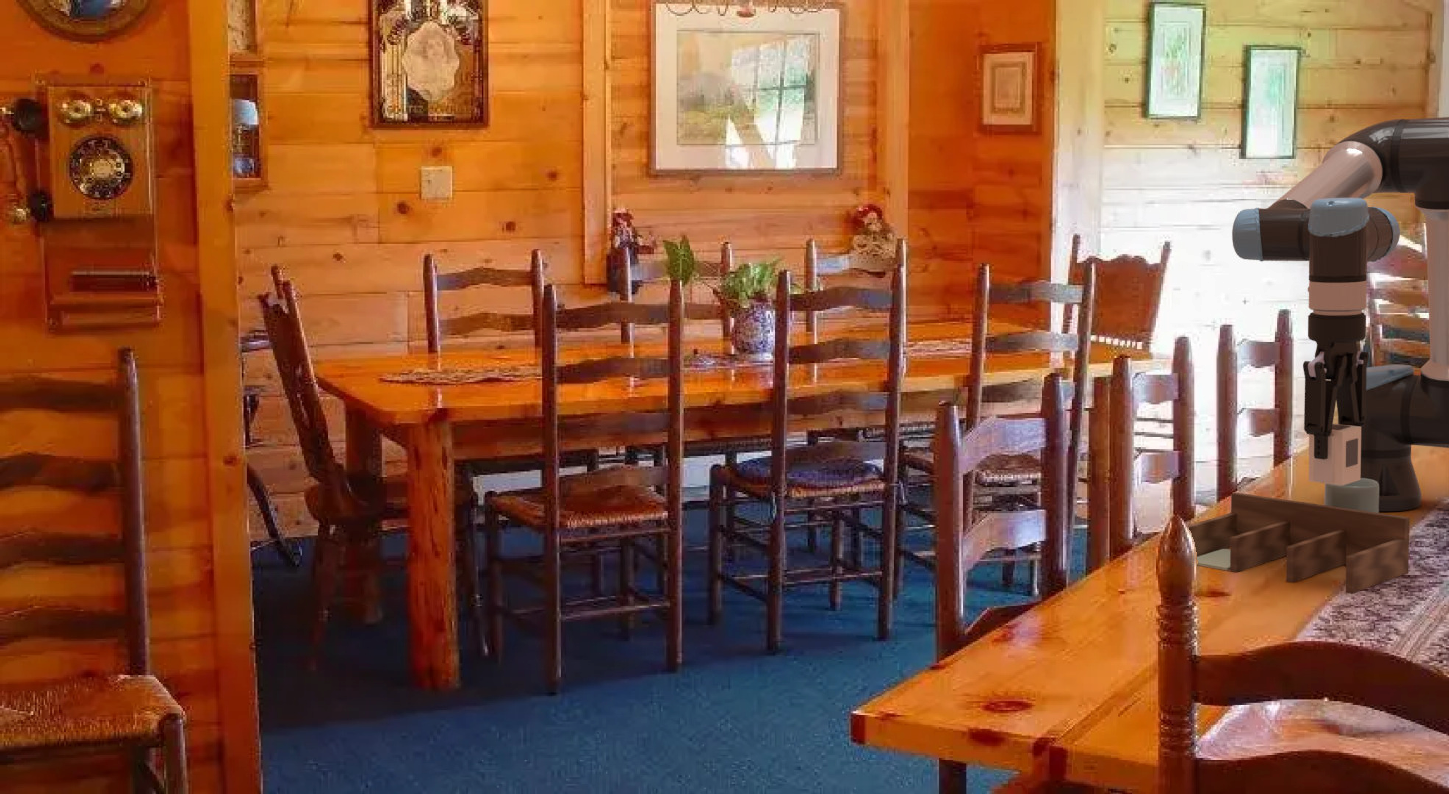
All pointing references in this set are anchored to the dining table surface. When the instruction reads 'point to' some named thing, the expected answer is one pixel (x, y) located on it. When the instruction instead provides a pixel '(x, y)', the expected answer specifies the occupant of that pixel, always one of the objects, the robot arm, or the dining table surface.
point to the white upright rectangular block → (1342, 454)
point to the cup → (1354, 495)
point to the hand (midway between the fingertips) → (1334, 477)
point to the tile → (1216, 559)
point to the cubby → (1308, 539)
